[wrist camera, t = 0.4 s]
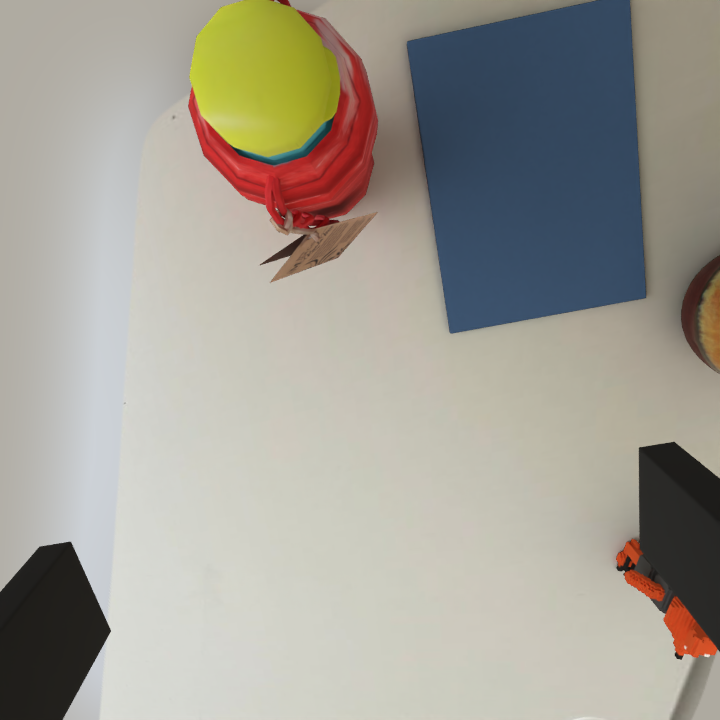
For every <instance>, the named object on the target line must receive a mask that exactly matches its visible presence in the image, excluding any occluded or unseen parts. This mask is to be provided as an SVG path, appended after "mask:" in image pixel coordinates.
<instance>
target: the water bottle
mask: <svg viewBox="0 0 720 720" xmlns="http://www.w3.org/2000/svg"><path fill="white" fill-rule="evenodd" d="M277 1H279V2H280V3H281V4H280V3H277V2H274V0H243V1H240V2H237V3H233V4H230V5H227V6H223V7H221V8H220V9H219V10H218V11H217V13H216V14H215V15H214V16H213V17H212V19H211V20H210V21H209V22H208V23H207V25H206V26H205V27H204V28H203V29H202V31H201V32H200V33H199V34H198V36H197V37H196V43H195V48H194V54H193V59H192V65H191V71H190V76H189V77H190V81H191V84H192V89H191V94H190V99H189V105H188V107H189V110H190V113H191V117H192V120H193V123H194V126H195V129H196V132H197V135H198V139H199V142H200V145H201V148H202V151H203V154H204V156H205V157H206V158H207V159H208V160H209V161H210V162H211V163H212V164H213V166H214V167H215V168H216V169H217V170H218V171H219V172H220V173H221V174H222V175H223V176H224V177H225V178H226V179H227V180H228V181H229V182H230V183H231V184H232V186H233V187H234V188H235V189H236V190H237V191H238V192H239V193H240V194H241V195H242V196H244V197H245V198H246V199H248V200H251V201H254V202H257V203H260V204H263V205H266V208H267V210H268V212H269V213H270V215H271V216H272V218H271V219H270V221H271V223H272V224H273V225H274V227H275V228H276V230H277V231H278V232H282V233H284V234H286V235H288V234H289V233H295V234H304V235H303V236H301V237H300V238H298V239H297V240H295V241H294V242H293V243H291V244H290V245H288V246H287V247H285V248H284V249H282V250H281V251H279V252H278V253H276V254H275V255H273V256H272V257H271V258H269V259H268V260H266V261H265V262H263V263H262V264H266V263H269V262H272V261H275V260H278V259H281V258H284V257H288V256H290V258H289V259H288V260H287V261H286V263H285V264H284V265H283V266H282V268H281V269H280V270H279V272H278V273H277V274H276V275H275V277H274V278H273V279H272V281H271V282H273V281H276V280H279V279H282V278H284V277H287V276H290V275H292V274H295V273H298V272H301V271H303V270H306V269H309V268H311V267H314V266H317V265H320V264H322V263H325V262H328V261H330V260H333V259H336V258H338V257H339V256H340V255H341V254H342V253H343V251H344V250H345V249H346V248H347V247H348V246H349V245H350V243H351V242H352V241H353V240H354V239H355V238H356V237H357V235H358V234H359V233H360V232H361V231H362V230H363V228H364V227H365V226H366V225H367V224H368V223H369V222H370V220H371V219H372V218H373V217H374V216H375V215H376V214H377V212H376V213H372V214H369V215H365V216H361V217H357V218H354V219H350V220H346V221H342V222H339V221H338V220H329V219H330V218H334V217H338V216H341V215H345V214H347V213H348V212H349V211H350V210H351V209H352V208H353V207H354V206H355V205H356V204H357V203H358V202H359V201H360V200H361V199H362V198H363V197H364V196H365V195H366V191H367V188H368V184H369V180H370V177H371V173H372V169H373V166H374V160H373V156H372V150H373V146H374V143H375V139H376V135H377V127H378V118H377V114H376V110H375V106H374V102H373V97H372V93H371V89H370V85H369V80H368V76H367V72H366V70H365V67H364V65H363V62H362V59H361V58H360V57H359V56H358V54H357V53H356V52H355V51H354V50H353V49H352V48H351V47H350V45H349V44H348V43H347V42H346V41H345V40H344V39H343V38H342V36H341V35H340V34H339V33H338V32H337V31H336V30H335V29H334V27H333V26H332V25H331V24H330V23H329V22H328V21H327V20H326V19H325V18H322V17H319V16H315V15H312V14H309V13H305V12H302V11H299V10H296V9H295V8H293V7H291V6H290V3H289V1H288V0H277ZM275 208H277V209H278V210H277V211H276V209H275ZM282 216H283V217H284V218H285V219H284V218H282ZM309 226H316V227H314V228H310V227H309ZM262 264H260V265H262ZM271 282H270V283H271Z"/></svg>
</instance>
